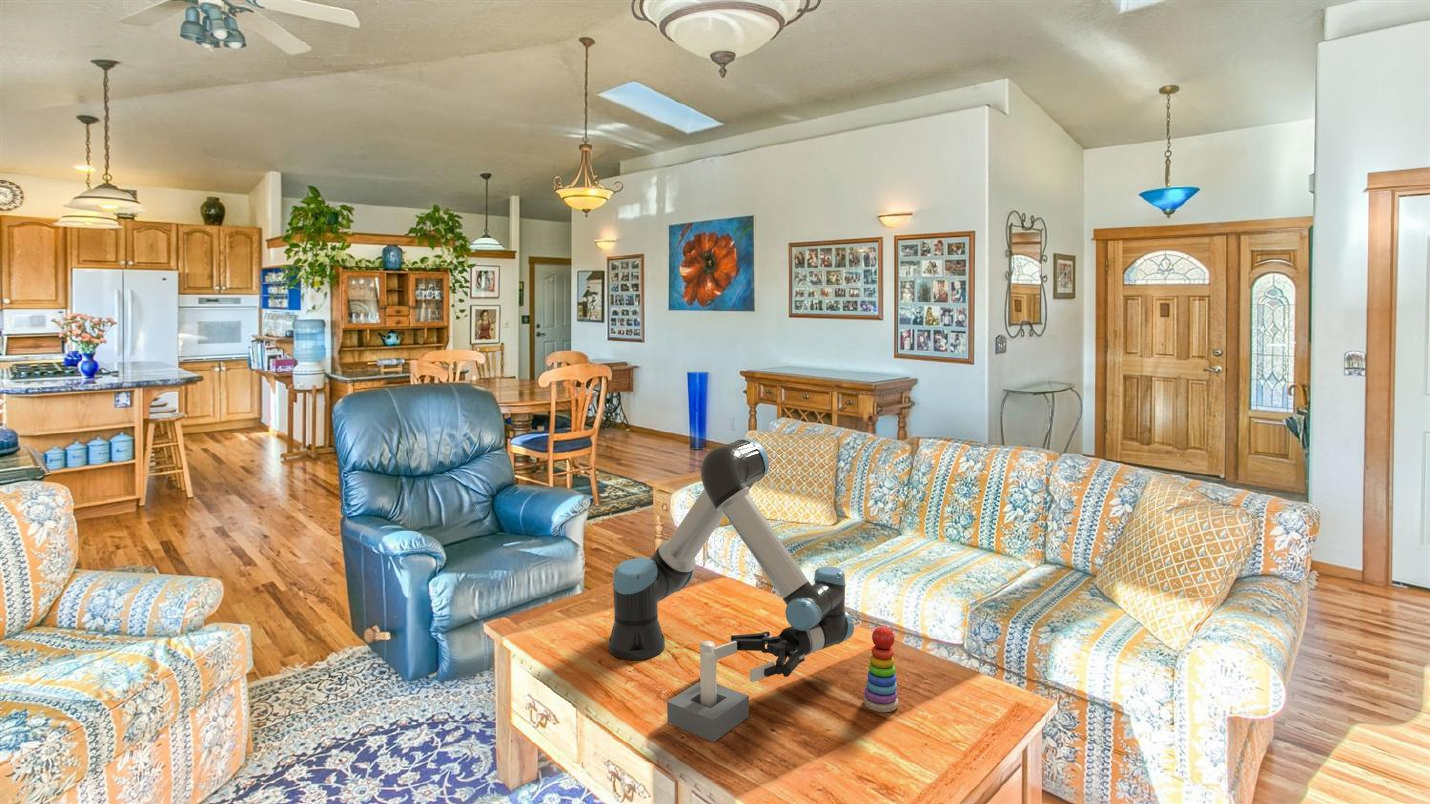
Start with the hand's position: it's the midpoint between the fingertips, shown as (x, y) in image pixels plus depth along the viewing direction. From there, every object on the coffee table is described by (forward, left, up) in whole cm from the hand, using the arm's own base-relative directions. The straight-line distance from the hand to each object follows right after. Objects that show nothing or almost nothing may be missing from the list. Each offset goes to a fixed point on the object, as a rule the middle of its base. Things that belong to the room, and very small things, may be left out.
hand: (732, 664), depth 178 cm
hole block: (-2, -6, -11) cm, 13 cm away
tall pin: (-2, -6, -11) cm, 13 cm away
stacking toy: (+26, +23, -11) cm, 36 cm away
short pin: (-14, +9, -11) cm, 20 cm away
